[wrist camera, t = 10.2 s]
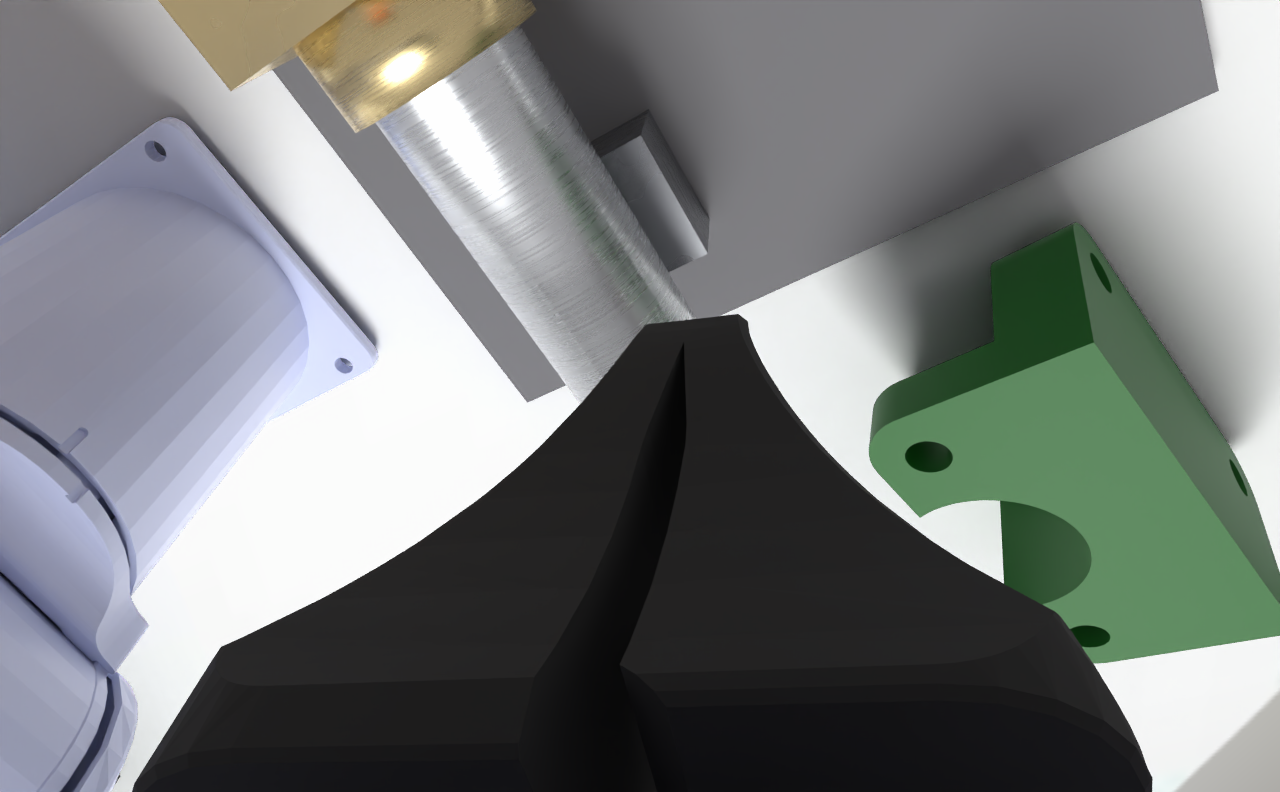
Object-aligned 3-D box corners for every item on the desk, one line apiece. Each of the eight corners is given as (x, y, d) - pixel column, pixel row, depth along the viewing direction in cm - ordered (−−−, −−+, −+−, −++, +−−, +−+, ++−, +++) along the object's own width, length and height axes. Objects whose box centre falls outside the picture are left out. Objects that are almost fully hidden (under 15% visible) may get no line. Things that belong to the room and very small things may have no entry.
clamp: (905, 283, 26) (811, 379, 19) (1089, 190, 22) (1052, 267, 16) (1077, 584, 26) (1043, 776, 20) (1281, 540, 23) (1322, 753, 16)
